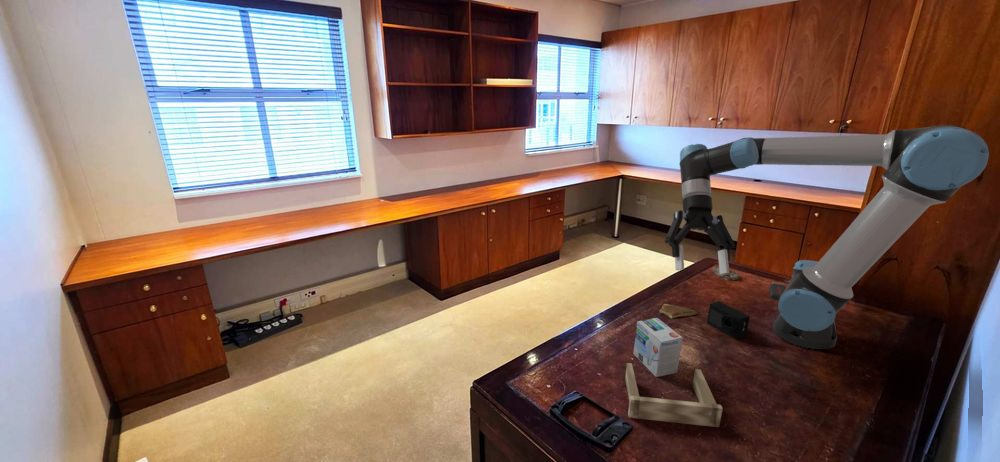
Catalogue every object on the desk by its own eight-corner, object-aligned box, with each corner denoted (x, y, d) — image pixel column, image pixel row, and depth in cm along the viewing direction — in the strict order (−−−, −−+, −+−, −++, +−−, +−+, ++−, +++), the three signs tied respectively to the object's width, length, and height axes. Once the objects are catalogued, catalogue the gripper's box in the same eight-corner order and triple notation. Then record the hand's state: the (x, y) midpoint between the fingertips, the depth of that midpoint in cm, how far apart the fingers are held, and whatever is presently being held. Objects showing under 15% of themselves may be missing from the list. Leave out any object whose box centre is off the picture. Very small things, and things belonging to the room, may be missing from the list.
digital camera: (703, 323, 128) (706, 304, 126) (715, 319, 130) (719, 300, 128) (733, 340, 119) (737, 320, 117) (745, 336, 121) (749, 315, 119)
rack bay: (700, 386, 100) (703, 369, 99) (719, 427, 88) (722, 408, 87) (622, 379, 104) (623, 362, 102) (628, 417, 91) (630, 399, 90)
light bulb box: (632, 354, 114) (636, 320, 110) (653, 349, 115) (657, 316, 112) (656, 378, 104) (661, 342, 100) (678, 373, 106) (683, 337, 102)
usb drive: (769, 300, 142) (771, 293, 141) (768, 286, 152) (769, 280, 151) (787, 303, 140) (789, 296, 139) (785, 289, 150) (786, 283, 149)
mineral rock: (746, 273, 158) (734, 271, 154) (742, 283, 159) (731, 282, 155) (720, 264, 167) (709, 263, 163) (717, 274, 168) (706, 273, 164)
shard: (697, 315, 134) (698, 310, 133) (693, 325, 128) (694, 320, 127) (663, 306, 139) (664, 302, 139) (658, 316, 134) (658, 311, 133)
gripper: (725, 206, 121) (732, 276, 115) (649, 197, 116) (652, 269, 111) (745, 198, 114) (753, 273, 108) (664, 188, 109) (669, 265, 104)
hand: (702, 271), depth 110 cm, fingers open, 13 cm apart
